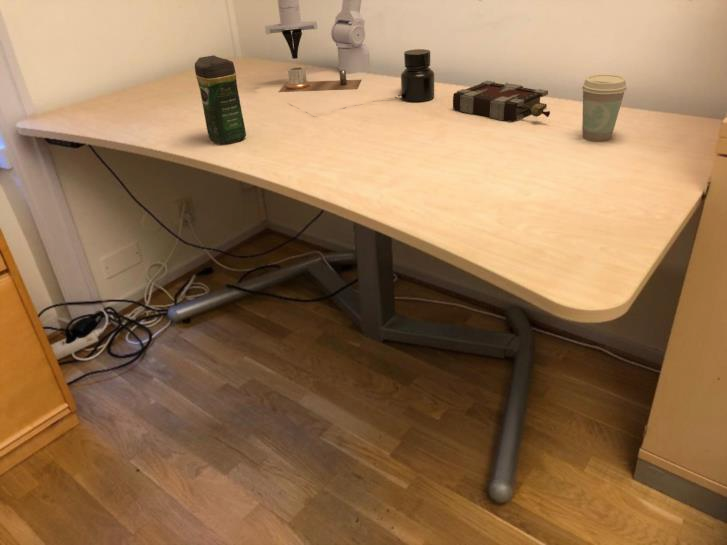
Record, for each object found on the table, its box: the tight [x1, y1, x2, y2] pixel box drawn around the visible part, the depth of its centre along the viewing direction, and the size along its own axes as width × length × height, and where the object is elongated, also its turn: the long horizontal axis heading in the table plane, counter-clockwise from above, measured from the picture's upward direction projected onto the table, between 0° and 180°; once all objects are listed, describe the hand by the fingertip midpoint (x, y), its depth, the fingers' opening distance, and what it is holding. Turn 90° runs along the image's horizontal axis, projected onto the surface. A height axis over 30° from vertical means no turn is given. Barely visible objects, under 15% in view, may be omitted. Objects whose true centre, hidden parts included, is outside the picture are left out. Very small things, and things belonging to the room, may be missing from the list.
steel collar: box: [287, 66, 308, 85], centre depth 170 cm, size 5×5×4 cm
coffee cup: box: [581, 74, 628, 142], centre depth 121 cm, size 9×8×12 cm
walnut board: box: [277, 79, 362, 93], centre depth 171 cm, size 23×11×2 cm, turn 84°
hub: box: [285, 69, 310, 90], centre depth 170 cm, size 7×7×5 cm
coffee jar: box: [194, 54, 247, 144], centre depth 134 cm, size 10×8×19 cm
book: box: [452, 80, 551, 122], centre depth 142 cm, size 15×25×5 cm, turn 43°
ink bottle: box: [400, 48, 435, 103], centre depth 155 cm, size 10×9×12 cm
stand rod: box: [339, 70, 347, 86], centre depth 169 cm, size 2×2×4 cm
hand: (294, 58), depth 169 cm, fingers closed
